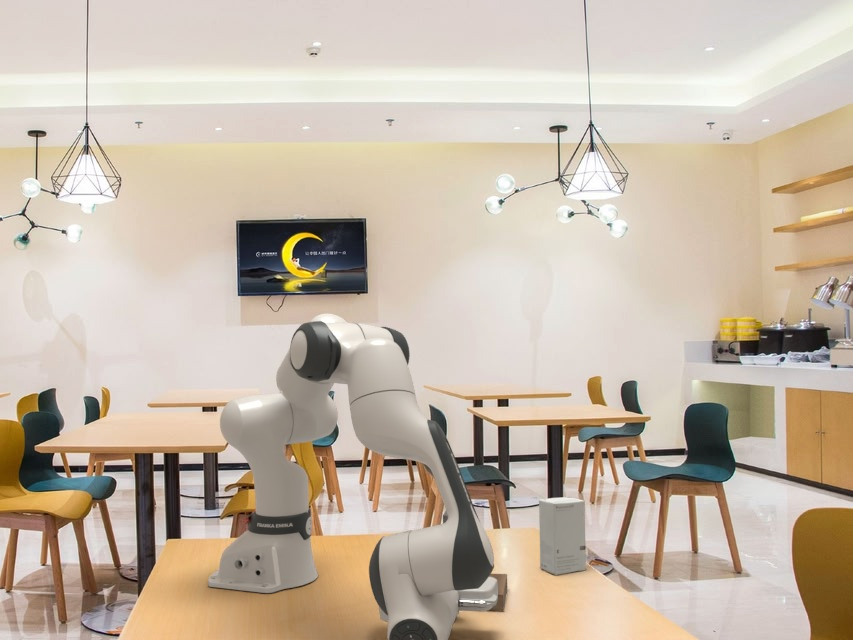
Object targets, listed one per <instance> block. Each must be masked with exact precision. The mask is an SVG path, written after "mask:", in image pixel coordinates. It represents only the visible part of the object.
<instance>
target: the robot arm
mask: <svg viewBox="0 0 853 640" xmlns="http://www.w3.org/2000/svg"><path fill="white" fill-rule="evenodd" d="M409 363H410V347H409V344H408V341H407V339H406V337H405V335H404V334H403V333H402V332H400V331H398V330H396V329H394V328H391V327H387V326H377V325H372V324H366V323H360V322H347V321H346V320H345V319H344V318H343V317H341V316H340V315H337V314H334V313H321V314H317V315H315V316H314V317H313V318H311V319H310V320H309V321H308V322H305V323H302V324H300V325H299V327H297V329H296V330H295V332H294V333H293V335H292V337H291V341H290V347H289V349H288V351H287V353H286V354H285V356H284V358H283V360H281V363H280V365H279V367H278V368H277V371H276V376H275V378H276V380H275V381H276V387H277V389H278V392H272V393H257V394H248V395H245V396H241V397H238V398H235V399H231V400H229V401H228V402H227V403H226V404H225V406H224V407H223V409H222V411H221V413H220V418H219V429H220V432H221V434H222V436H223V439H224V440H225V441H226V442H227V443H228V444H229V445H230V446H231V447H233V448H234V449H235V450H237V451H238V452H239V453H240V454H241V455H242V456H243V458H244V459H245V460H246V462H247V464H248V465H249V468H250V470H251V473H252V479H253V485H254V486H253V488H254V499H255V506H254V507H255V509H254V510H252V512H251V513H250V514H248V515H247V517H245V518H244V519H243V520H244V525H246V524H247V530H245V532H243V533H242V534H241V535H240V536H238V537H237V538H236V539H235V540H234V541H233V542H232V543H230V544H229V545H228V546H227V547H226V548H225V549H224V550H223V552H222V553H221V557H220V559H219V567H218V569H217V570H215V571H214V572H213V573H211V575H210V576H208V579H207V585H208V587H210V588H219V589H227V590H237V591H246V592H251V593H261V594H262V593H263V594H271V593H277V592H279V591H281V590H285V589H290V588H296V587H300V586H304V585H307V584H309V583H312V582H314V581H315V580H316V579H317V578H318V577H319V573H318V571H317V570H318V569H317V567H316V564H315V560H314V554H313V547H312V541H311V536H312V530H313V529H312V528H313V526H312V525H313V522H312V521H313V519H312V512H311V508H310V507H309V506H310V505H309V503H310V501H309V499H310V497H309V496H310V495H309V493H310V492H309V475H308V474H307V472H306V470H305V468H304V467H303V466H301V465H299V464H298V463H296V462H294V461H292V460H289V459H288V458H287V457H286V453H285V447H284V446H286V445H293V444H294V445H295V444H303V443H304V444H305V443H311V442H314V441H317V440H320V439H323V438H326V437H328V436H330V435H331V434H332V433H333V432H334V430H335V429H336V427H337V423H338V417H339V415H338V414H339V413H338V409H337V405H336V402H335V401H334V400H333V398H332V397H331V396H330V395H329V393H330V391H331V390H332V388H333V386H334V385H335V384H339V385H340V384H341V385H347V392H348V394H347V395H348V403H349V405H348V406H349V411H350V412H349V413H350V417H351V423H352V428H353V430H354V431H353V432H354V434H355V436H356V438H357V440H358V441H359V442H360V443H361V444H362V446H364V448H367V449H368V450H370V451H371V452H373V453H376V454H378V455H381V456H385V457H388V458H393V459H402V460H408V461H413V462H414V461H415V462H418V463H421V464H424V465H426V467H428V468H429V469H430V471H431V473H432V475H433V478H434V480H435V483H436V486H437V489H438V492H439V494H440V496H441V500H442V502H443V503H442V504H443V505H444V508H445V511H447V514H448V520H447V521H446V522H445V523H443V522H442V523H440V524H435V525H432V526H427V527H422V528H418V529H414V530H413V529H412V530H411V529H410V530H406V531H401V532H398V533H397V532H396V533H392V534H389V535H385V536H382V537H381V538H380V539H379V540H378V541H377V543H376V545H375V547H374V549H373V551H372V554H371V556H370V559H369V565H368V575H369V576H368V578H369V581H370V588H371V591H372V595H373V597H374V600H375V602H376V604H377V605H378V610H379V613H378V614H379V618H380V621H382V622H386V623H387V632H386V634H387V635H386V636H387V640H449V637H450V635H451V632H452V628H453V626H454V623H455V621H456V618H457V617H456V615H457V613H458V611H459V612H460V611H463V612H489V611H488V610H490V609H491V608H492V607H493V606H495V605H496V603H497V600H498V581H497V579H495V578H493V577H489V576H490V574H492V573H493V571H494V568H495V556H494V555H495V554H494V550H493V545H492V542H491V540H490V538H489V536H488V534H487V532H486V530H485V528H484V527H483V525H482V523H481V521H480V518H479V515H478V514H477V512H476V508H475V506H474V504H473V501H472V498H471V495H470V493H469V491H468V488H467V486H466V483H465V480H464V478H463V474H462V472H461V469H460V467H459V464H458V461H457V460H456V457H455V455H454V452H453V450H452V446H451V444H450V442H449V439H448V438H447V435H446V434H445V432H444V431H443V428H442V427H441V426H440V424H439V423H438V422H437V421H435V420H431V419H428V418H427V417H426V416H425V414H424V413H423V412H422V411H421V409H420V407H419V404H418V401H417V397H416V392H415V391H416V390H415V386H414V381H413V378H412V375H411V371H410V368H409Z"/></svg>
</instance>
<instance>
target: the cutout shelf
mask: <svg viewBox="0 0 853 640" xmlns="http://www.w3.org/2000/svg"><path fill="white" fill-rule="evenodd" d="M489 577H493V578H495V579H497V581H498V600H497V603H496V605H495V606H493V607H492V608H491V609H490V610H488V611H487V612H504V610H505V604H506V599H507V595H508V594H507V593H508V574H507V573H491V574H490V576H489Z"/></svg>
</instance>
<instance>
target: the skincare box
mask: <svg viewBox="0 0 853 640" xmlns="http://www.w3.org/2000/svg"><path fill="white" fill-rule="evenodd" d="M538 504H539V505H538V507H539V508H538V509H539V511H538V512H539V514H538V515H539V516H538V517H539V566H540V569H542V570H544V571H546V572H548V573H549V574H551V575H553V576H559V575H565V574H569V573H574V572H580V571H581V572H583V571H586V569H587V560H586V559H587V558H586V557H587V556H586V554H587V553H586V549H587V548H586V514H585V513H586V512H585V511H586V506H585V500H583V499H579V498H575V497H572V496H564V497H551V498H550V497H549V498H543V499H538Z"/></svg>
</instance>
